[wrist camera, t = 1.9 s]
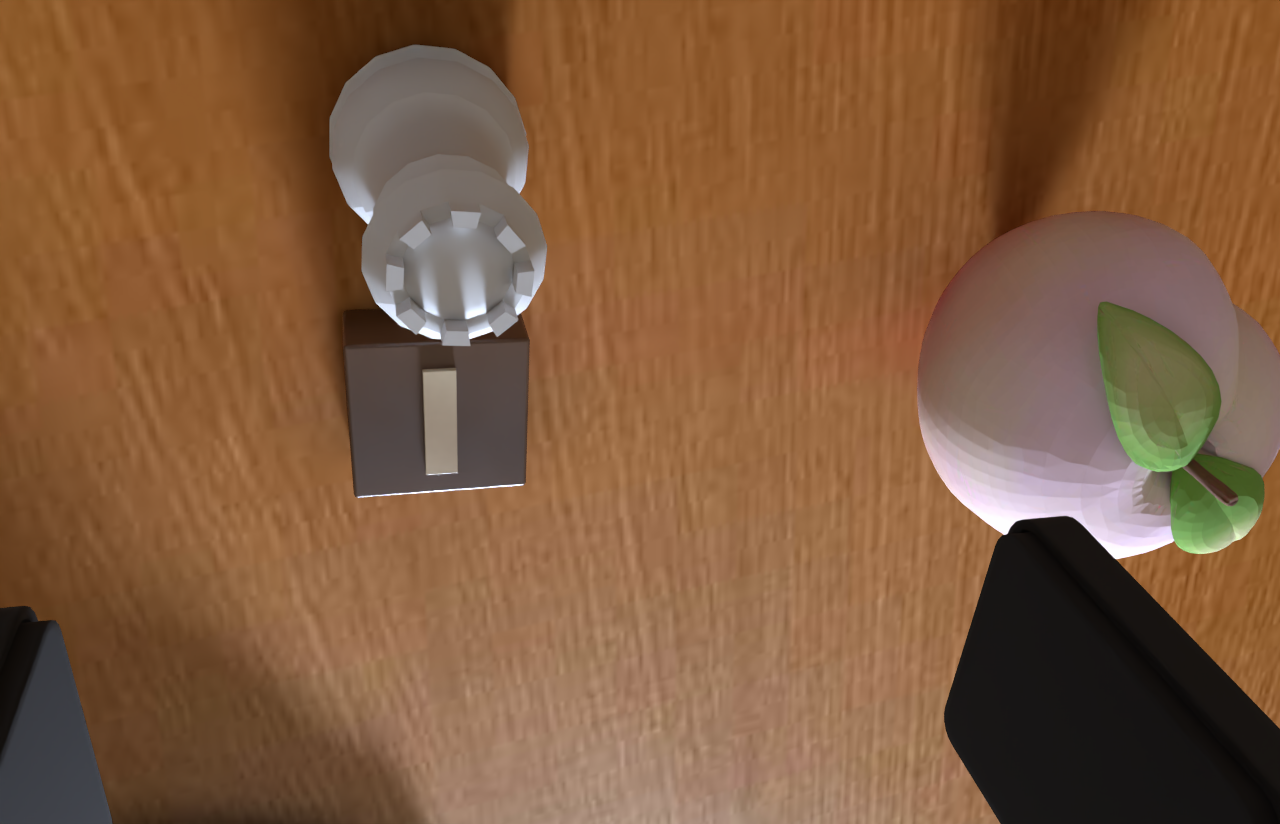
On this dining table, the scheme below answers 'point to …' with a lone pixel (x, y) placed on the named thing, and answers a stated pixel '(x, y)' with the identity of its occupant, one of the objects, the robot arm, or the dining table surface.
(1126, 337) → the decorative fruit
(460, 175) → the rook chess piece
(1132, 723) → the robot arm
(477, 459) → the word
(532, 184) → the dining table surface
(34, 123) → the dining table surface
